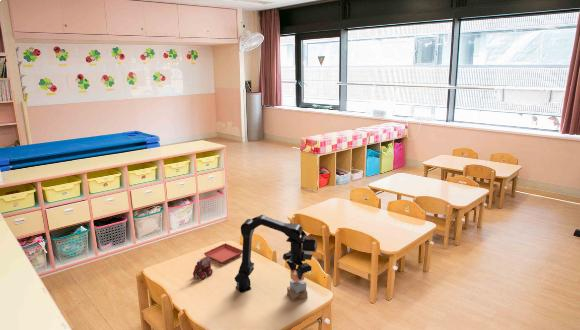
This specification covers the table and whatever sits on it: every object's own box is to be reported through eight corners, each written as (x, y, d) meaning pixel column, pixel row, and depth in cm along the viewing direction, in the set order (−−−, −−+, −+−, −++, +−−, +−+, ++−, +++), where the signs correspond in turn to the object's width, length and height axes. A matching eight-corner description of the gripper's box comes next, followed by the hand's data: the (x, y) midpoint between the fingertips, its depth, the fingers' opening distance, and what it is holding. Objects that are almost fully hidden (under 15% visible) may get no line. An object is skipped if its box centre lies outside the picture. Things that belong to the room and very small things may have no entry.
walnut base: (293, 302, 208) (292, 295, 207) (287, 293, 215) (287, 287, 214) (307, 298, 211) (307, 291, 210) (301, 290, 218) (301, 283, 217)
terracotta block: (295, 282, 207) (295, 275, 206) (290, 278, 211) (290, 271, 210) (304, 279, 210) (303, 272, 208) (298, 275, 214) (298, 268, 213)
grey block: (296, 293, 208) (296, 286, 207) (290, 288, 213) (289, 281, 212) (306, 289, 211) (306, 282, 210) (299, 284, 216) (299, 277, 215)
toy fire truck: (190, 278, 232) (188, 262, 230) (207, 269, 242) (205, 253, 239) (198, 282, 228) (196, 265, 225) (215, 272, 238) (213, 256, 235)
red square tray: (225, 247, 269) (225, 242, 268) (244, 255, 258) (244, 250, 257) (203, 258, 256) (203, 253, 255) (222, 267, 245) (221, 262, 244)
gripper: (320, 252, 202) (320, 280, 206) (300, 238, 218) (300, 264, 222) (301, 258, 197) (302, 287, 201) (281, 244, 212) (283, 270, 216)
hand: (297, 277), depth 210 cm, fingers closed on terracotta block, 5 cm apart
